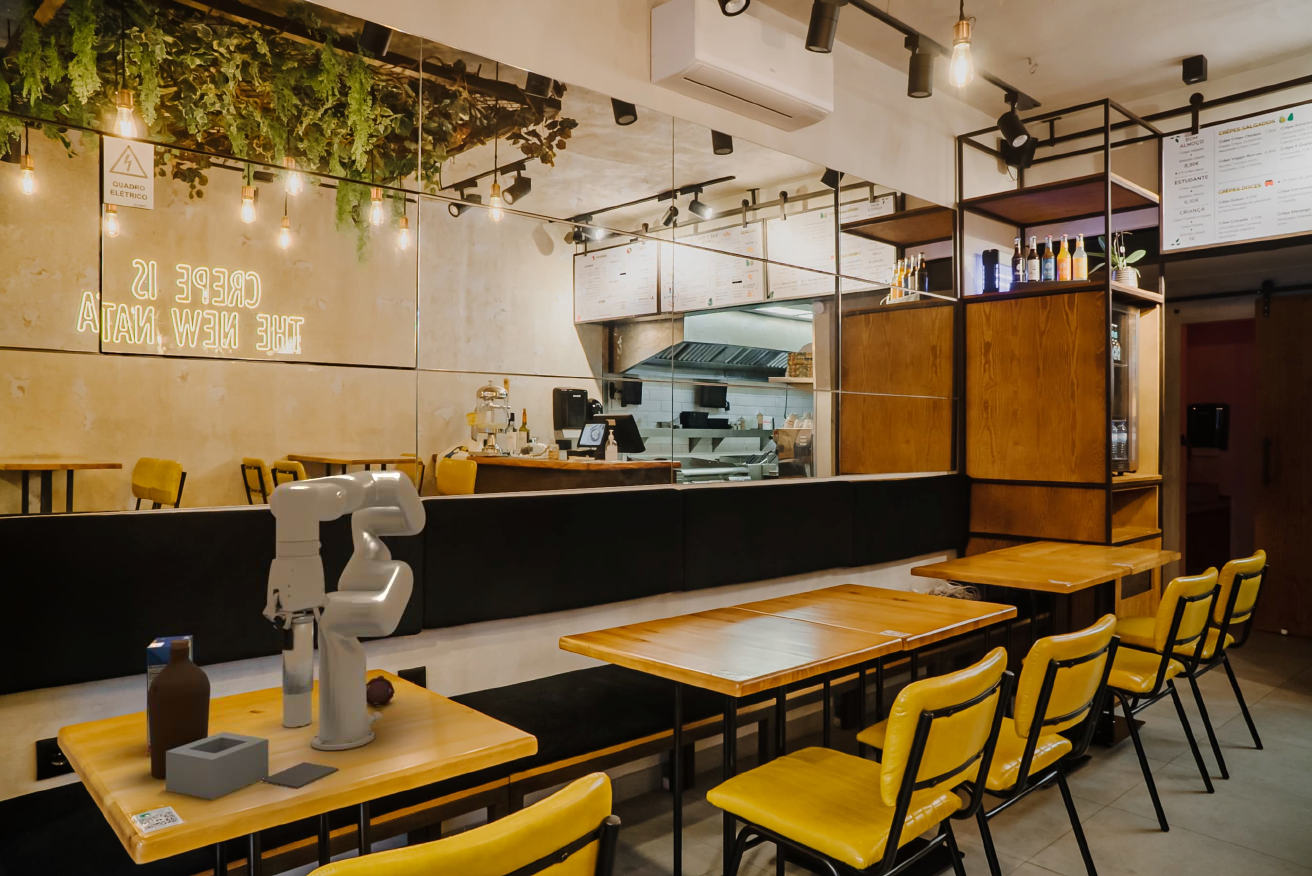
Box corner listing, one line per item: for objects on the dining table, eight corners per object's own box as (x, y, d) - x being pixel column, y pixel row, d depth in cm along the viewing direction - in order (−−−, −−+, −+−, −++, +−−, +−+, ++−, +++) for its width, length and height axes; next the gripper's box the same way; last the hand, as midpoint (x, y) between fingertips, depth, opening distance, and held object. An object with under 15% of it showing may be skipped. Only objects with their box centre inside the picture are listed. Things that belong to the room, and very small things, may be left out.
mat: (303, 764, 166) (303, 762, 166) (338, 770, 163) (338, 768, 163) (261, 781, 157) (261, 779, 157) (297, 788, 154) (297, 786, 154)
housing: (223, 768, 165) (223, 731, 165) (268, 776, 160) (268, 739, 160) (165, 790, 154) (165, 751, 154) (212, 799, 149) (212, 759, 149)
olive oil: (196, 779, 159) (196, 645, 160) (136, 782, 158) (136, 647, 159) (219, 759, 170) (219, 634, 170) (163, 762, 169) (164, 635, 169)
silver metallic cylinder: (298, 686, 163) (298, 612, 164) (320, 688, 161) (320, 614, 162) (275, 693, 158) (275, 617, 159) (297, 695, 156) (297, 619, 157)
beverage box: (146, 757, 172) (146, 647, 173) (156, 740, 182) (156, 637, 183) (184, 752, 174) (184, 644, 175) (192, 736, 185) (192, 635, 185)
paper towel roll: (301, 728, 189) (301, 632, 190) (277, 727, 190) (277, 631, 191) (320, 719, 196) (319, 626, 197) (296, 718, 197) (295, 625, 198)
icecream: (397, 684, 202) (397, 675, 216) (366, 678, 200) (367, 670, 214) (390, 713, 201) (390, 702, 215) (358, 709, 199) (360, 698, 213)
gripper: (317, 545, 170) (317, 636, 170) (245, 554, 154) (245, 654, 154) (346, 546, 167) (346, 638, 166) (275, 555, 151) (275, 657, 151)
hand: (297, 645), depth 160 cm, fingers closed on silver metallic cylinder, 5 cm apart
